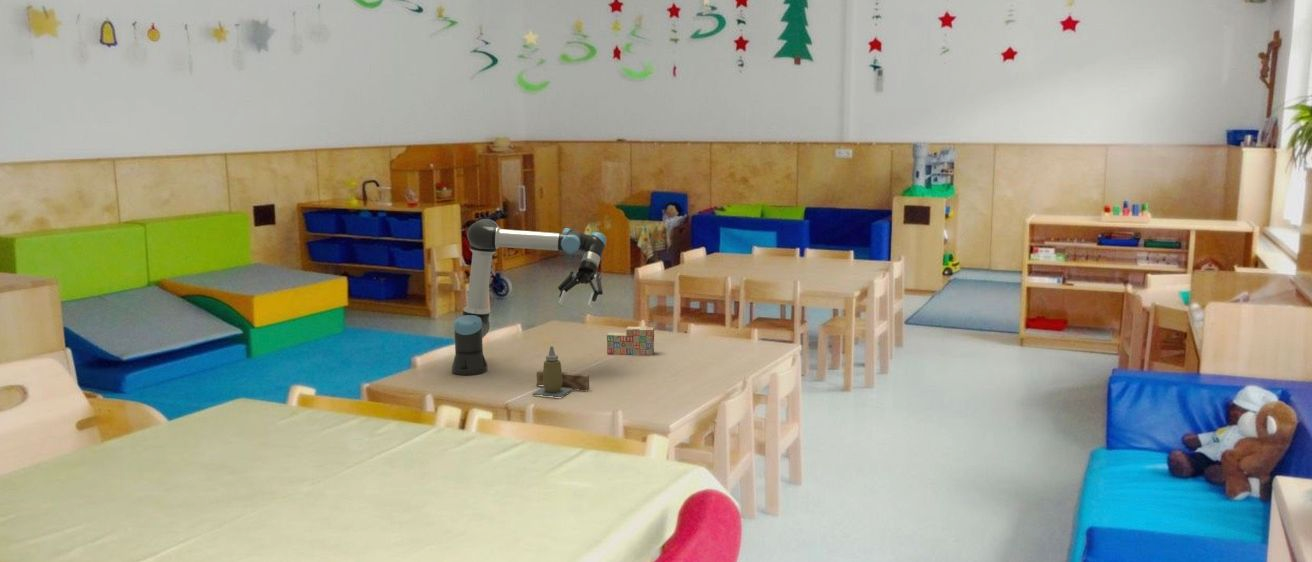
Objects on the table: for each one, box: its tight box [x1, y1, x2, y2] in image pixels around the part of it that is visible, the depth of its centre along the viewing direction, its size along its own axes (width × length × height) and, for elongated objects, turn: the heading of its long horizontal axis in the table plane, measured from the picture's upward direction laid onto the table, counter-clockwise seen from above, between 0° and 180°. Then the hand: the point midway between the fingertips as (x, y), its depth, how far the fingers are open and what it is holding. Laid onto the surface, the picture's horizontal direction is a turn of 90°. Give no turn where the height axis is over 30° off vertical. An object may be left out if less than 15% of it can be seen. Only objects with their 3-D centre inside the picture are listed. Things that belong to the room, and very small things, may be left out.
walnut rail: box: [536, 369, 590, 391], centre depth 394 cm, size 22×3×6 cm, turn 70°
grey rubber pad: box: [532, 387, 574, 398], centre depth 386 cm, size 12×12×1 cm
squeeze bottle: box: [542, 345, 563, 392], centre depth 385 cm, size 8×8×18 cm
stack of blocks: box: [606, 326, 655, 356], centre depth 451 cm, size 21×6×12 cm, turn 83°
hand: (574, 305), depth 410 cm, fingers open, 13 cm apart
